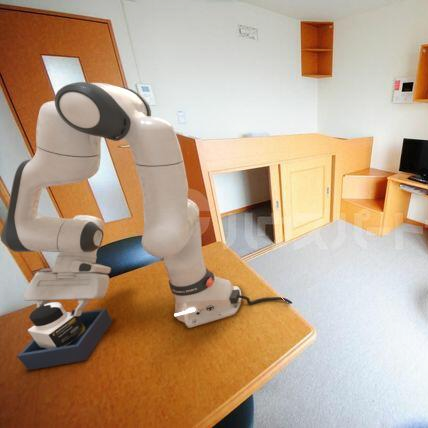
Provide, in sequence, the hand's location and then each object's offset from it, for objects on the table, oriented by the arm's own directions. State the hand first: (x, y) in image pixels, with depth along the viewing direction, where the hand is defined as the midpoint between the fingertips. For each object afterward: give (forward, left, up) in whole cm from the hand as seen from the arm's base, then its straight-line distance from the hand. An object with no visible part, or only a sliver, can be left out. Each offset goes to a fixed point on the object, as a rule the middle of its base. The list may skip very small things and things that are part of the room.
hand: (59, 316), depth 68 cm
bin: (0, 0, -11) cm, 11 cm away
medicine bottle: (+1, +1, -7) cm, 8 cm away
